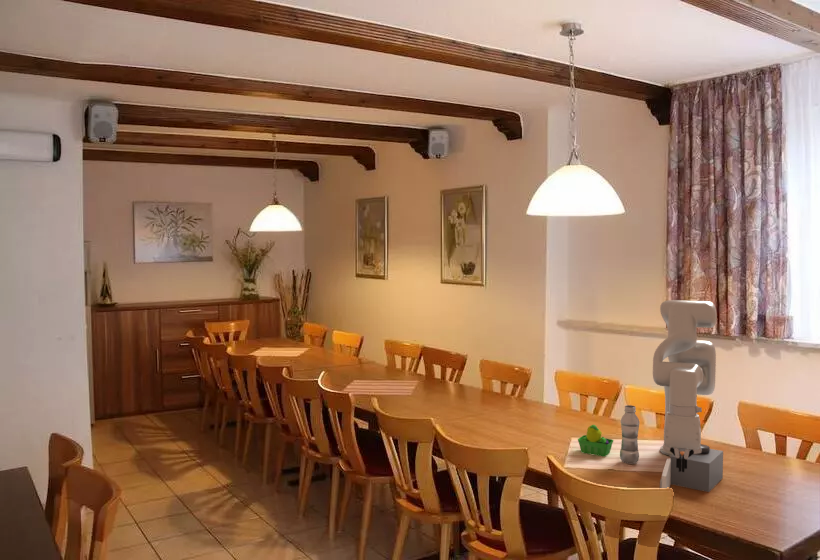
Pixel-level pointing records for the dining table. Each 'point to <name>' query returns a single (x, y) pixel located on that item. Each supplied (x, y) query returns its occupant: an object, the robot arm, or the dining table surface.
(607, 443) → the fruit basket
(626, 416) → the plastic bottle
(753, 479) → the dining table surface
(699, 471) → the grey block
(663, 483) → the door
